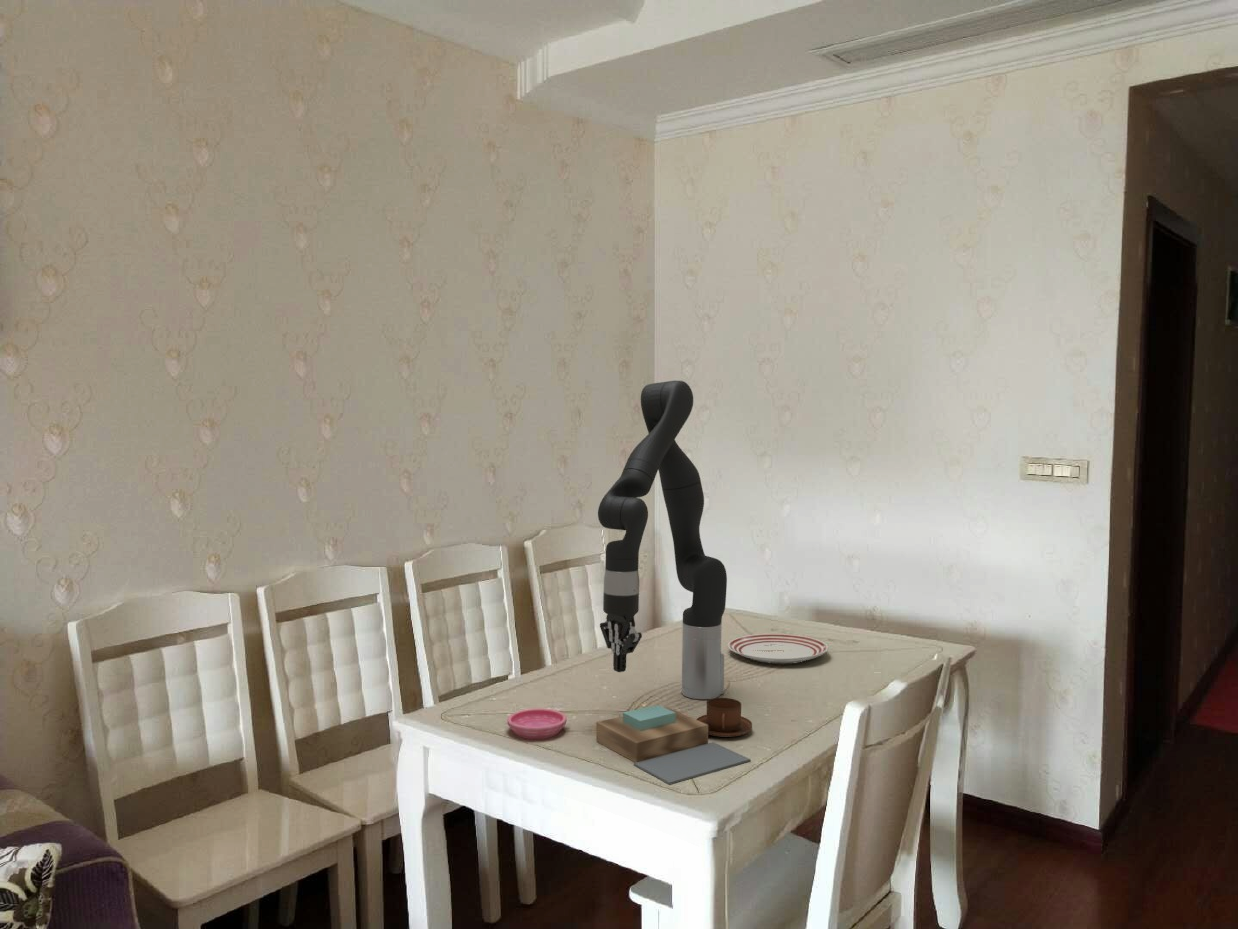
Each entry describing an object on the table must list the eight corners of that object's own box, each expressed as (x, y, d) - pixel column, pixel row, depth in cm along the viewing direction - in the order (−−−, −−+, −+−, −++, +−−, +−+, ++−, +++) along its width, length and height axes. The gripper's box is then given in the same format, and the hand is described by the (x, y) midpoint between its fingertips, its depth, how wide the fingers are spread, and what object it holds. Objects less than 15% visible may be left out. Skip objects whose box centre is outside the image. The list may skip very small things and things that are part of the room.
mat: (713, 744, 191) (713, 742, 191) (750, 761, 182) (750, 759, 182) (633, 765, 180) (633, 763, 180) (669, 784, 171) (669, 782, 171)
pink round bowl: (496, 729, 199) (496, 715, 199) (545, 718, 206) (545, 704, 206) (527, 747, 189) (527, 731, 189) (578, 734, 197) (578, 719, 196)
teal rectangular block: (657, 714, 197) (657, 704, 197) (675, 722, 192) (675, 712, 192) (622, 722, 192) (622, 712, 192) (640, 730, 187) (640, 721, 187)
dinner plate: (715, 662, 251) (715, 650, 251) (742, 639, 277) (742, 628, 276) (817, 675, 241) (818, 662, 241) (836, 649, 266) (836, 637, 266)
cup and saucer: (760, 739, 194) (760, 710, 194) (704, 743, 192) (705, 714, 191) (740, 720, 206) (741, 692, 205) (688, 724, 203) (688, 696, 203)
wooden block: (665, 724, 202) (665, 706, 202) (707, 744, 191) (708, 725, 191) (596, 741, 192) (596, 722, 192) (636, 763, 181) (636, 743, 180)
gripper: (654, 594, 195) (652, 676, 196) (618, 583, 206) (616, 661, 207) (624, 598, 191) (622, 681, 192) (589, 586, 202) (587, 666, 203)
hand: (619, 671), depth 200 cm, fingers closed
